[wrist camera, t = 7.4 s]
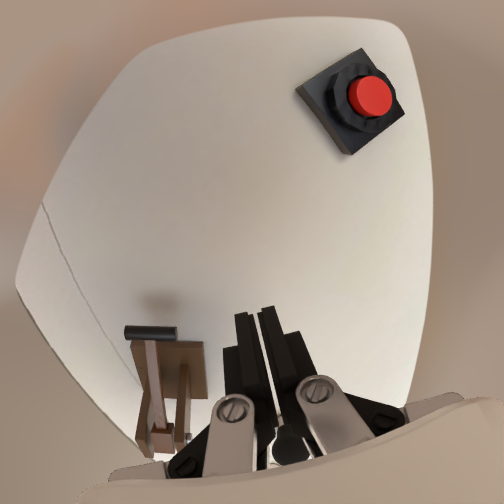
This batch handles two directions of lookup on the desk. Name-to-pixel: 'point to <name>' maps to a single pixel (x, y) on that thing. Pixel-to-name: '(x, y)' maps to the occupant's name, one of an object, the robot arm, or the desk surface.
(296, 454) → the light bulb
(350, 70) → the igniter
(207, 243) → the desk surface
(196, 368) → the bracket
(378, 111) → the button
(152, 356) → the lever
